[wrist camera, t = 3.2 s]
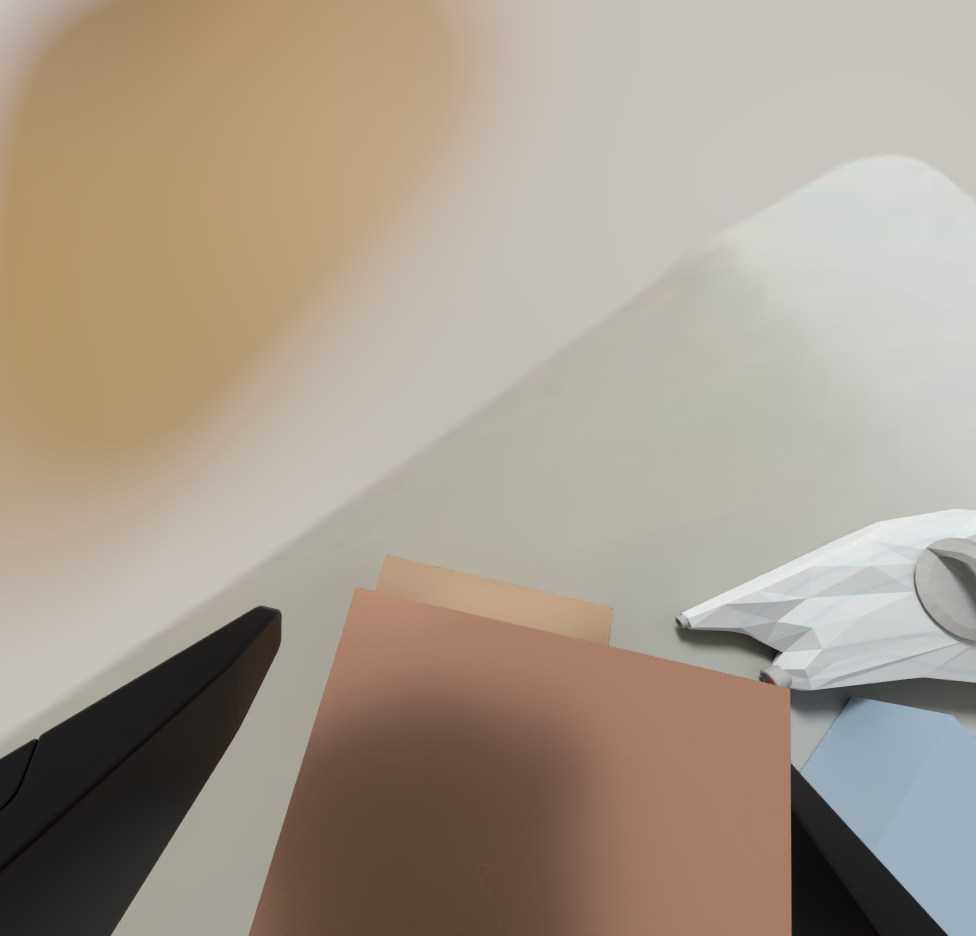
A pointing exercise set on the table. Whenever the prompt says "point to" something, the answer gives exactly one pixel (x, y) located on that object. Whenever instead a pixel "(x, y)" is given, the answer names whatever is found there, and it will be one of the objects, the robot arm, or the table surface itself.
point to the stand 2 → (907, 799)
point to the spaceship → (863, 606)
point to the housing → (530, 789)
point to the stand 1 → (495, 600)
